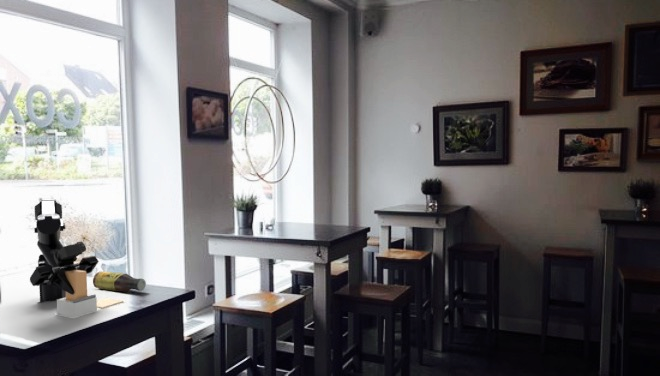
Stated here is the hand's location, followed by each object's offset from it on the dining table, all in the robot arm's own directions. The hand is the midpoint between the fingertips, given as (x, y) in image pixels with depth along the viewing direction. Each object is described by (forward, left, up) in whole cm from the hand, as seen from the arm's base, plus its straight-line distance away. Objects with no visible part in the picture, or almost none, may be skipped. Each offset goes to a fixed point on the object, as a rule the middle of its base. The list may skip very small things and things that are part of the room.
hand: (79, 292), depth 144 cm
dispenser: (+1, +5, -7) cm, 9 cm away
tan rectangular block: (-1, +1, -6) cm, 6 cm away
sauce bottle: (-7, +32, -4) cm, 33 cm away
